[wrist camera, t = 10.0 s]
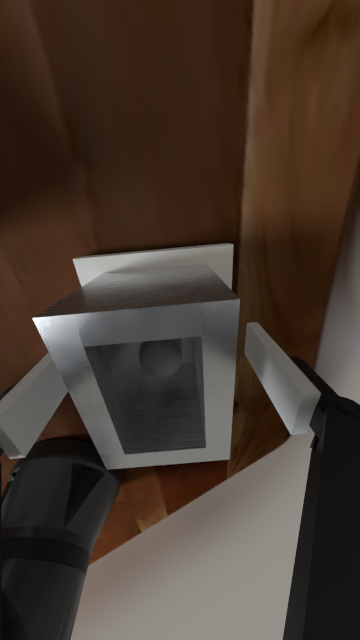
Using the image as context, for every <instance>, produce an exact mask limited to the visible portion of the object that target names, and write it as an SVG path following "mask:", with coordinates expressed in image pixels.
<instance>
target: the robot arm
mask: <svg viewBox="0 0 360 640" xmlns="http://www.w3.org/2000/svg"><path fill="white" fill-rule="evenodd" d="M244 354H245V355H246V357H247V359H248V361H249V362H250V364H251V366H252V368H253V369H254V371H255V373H256V375H257V376H258V378H259V380H260V382H261V383H262V385H263V387H264V389H265V390H266V392H267V394H268V396H269V397H270V399H271V401H272V403H273V404H274V406H275V408H276V410H277V411H278V413H279V415H280V417H281V418H282V420H283V422H284V424H285V425H286V427H287V429H288V431H289V432H290V434H291V435H297V434H306V433H307V431H308V429H309V426H310V427H311V428H312V430H313V431H314V433H315V435H314V438H313V441H312V443H311V446H310V447H311V448H312V451H311V458H310V465H309V471H308V478H307V484H306V491H305V498H304V504H303V510H302V517H301V524H300V531H299V537H298V544H297V550H296V557H295V563H294V570H293V576H292V583H291V590H290V596H289V602H288V609H287V615H286V622H285V629H284V636H283V640H360V405H359V404H357V403H356V402H354V401H352V400H350V399H348V398H345V397H341V396H338V395H337V394H336V392H334V390H333V389H331V387H330V386H328V384H327V383H325V382H324V380H323V379H321V377H320V376H319V375H317V373H316V372H315V371H314V370H312V368H311V367H310V366H309V365H308V364H307V363H306V362H305V361H303V360H301V359H299V358H298V357H288V356H287V355H286V354H285V353H284V351H283V350H282V349H281V348H280V347H279V346H278V345H277V344H276V343H275V341H274V340H273V339H272V338H271V337H270V336H269V335H268V334H267V332H266V331H265V330H264V329H263V328H262V327H261V326H260V325H259V324H258V322H252V323H247V327H246V338H245V349H244ZM67 392H68V390H67V388H66V386H65V384H64V382H63V380H62V377H61V375H60V373H59V371H58V369H57V367H56V365H55V363H54V361H53V359H52V357H51V355H50V353H48V354H47V355H46V356H45V357H44V358H43V359H42V360H41V361H40V362H39V363H38V364H37V365H36V366H35V367H34V368H33V369H32V370H31V371H30V372H29V373H28V374H27V375H26V376H25V377H24V378H23V379H22V380H21V381H19V382H17V383H16V384H14V385H13V386H11V387H10V388H8V389H7V390H6V391H5V392H4V393H3V394H2V395H1V397H0V456H1V455H2V453H3V452H4V453H5V454H6V455H7V456H8V457H9V458H10V459H13V458H19V460H18V461H17V463H16V464H15V466H14V467H13V469H12V471H11V473H10V475H9V478H8V482H7V485H6V487H5V490H4V492H3V495H2V497H1V462H0V640H70V638H71V634H72V630H73V626H74V622H75V618H76V614H77V609H78V606H79V601H80V597H81V593H82V588H83V585H84V581H85V576H86V572H87V568H88V564H89V561H90V557H91V553H92V549H93V546H94V544H95V541H96V539H97V537H98V535H99V533H100V531H101V529H102V526H103V524H104V522H105V520H106V518H107V516H108V514H109V511H110V509H111V507H112V505H113V503H114V501H115V499H116V496H117V494H118V492H119V489H120V485H121V480H122V475H123V468H121V469H109V470H107V469H106V467H105V465H104V463H103V461H102V459H101V457H100V455H99V453H98V451H97V449H96V447H95V445H94V444H92V443H88V442H84V441H79V440H70V439H55V440H47V441H43V442H39V443H36V444H34V443H35V442H36V440H37V438H38V437H39V435H40V434H41V432H42V431H43V429H44V428H45V426H46V425H47V423H48V421H49V420H50V418H51V417H52V415H53V414H54V412H55V411H56V409H57V407H58V406H59V404H60V403H61V401H62V400H63V398H64V397H65V395H66V394H67Z"/></svg>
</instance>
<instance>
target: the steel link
mask: <svg viewBox="0 0 360 640" xmlns="http://www.w3.org/2000/svg"><path fill="white" fill-rule="evenodd" d="M239 309H240V299H239V297H238V296H237V295H236V294H235V293H234V292H233V291H232V290H231V289H230V288H229V287H228V286H227V285H226V284H225V283H224V282H223V281H222V279H221V278H220V277H219V276H218V275H217V274H216V273H215V272H214V271H213V270H212V269H211V268H210V267H209V266H208V265H207V264H195V265H185V266H174V267H163V268H152V269H141V270H131V271H120V272H109V273H102V274H101V275H99V276H98V277H96V278H95V279H93V280H91V281H90V282H88V283H87V284H85V285H84V286H82V287H80V288H79V289H77V290H76V291H74V292H72V293H71V294H69V295H68V296H66V297H65V298H63V299H61V300H60V301H58V302H57V303H55V304H54V305H52V306H50V307H49V308H47V309H46V310H44V311H43V312H41V313H39V314H38V315H36V316H35V317H33V318H32V319H33V321H34V323H35V325H36V327H37V329H38V331H39V333H40V335H41V337H42V339H43V341H44V343H45V345H46V347H47V349H48V351H49V353H50V355H51V357H52V359H53V361H54V363H55V365H56V367H57V369H58V371H59V373H60V375H61V377H62V380H63V382H64V384H65V386H66V388H67V390H68V392H69V394H70V396H71V398H72V400H73V402H74V404H75V406H76V408H77V410H78V412H79V414H80V416H81V418H82V420H83V422H84V424H85V426H86V428H87V430H88V432H89V434H90V436H91V438H92V441H93V443H94V445H95V447H96V449H97V451H98V453H99V455H100V457H101V459H102V461H103V463H104V465H105V467H106V469H107V470H109V469H121V468H133V467H145V466H157V465H169V464H181V463H193V462H205V461H217V460H229V459H230V447H231V432H232V417H233V401H234V386H235V371H236V355H237V340H238V324H239ZM188 337H192V350H193V363H183V364H180V366H179V368H178V369H177V371H176V372H175V373H173V374H172V375H170V376H168V377H165V378H156V377H152V376H150V375H149V374H147V373H146V372H145V371H144V370H143V368H142V367H141V364H140V361H139V353H140V348H139V344H138V342H143V341H155V340H166V339H177V338H188Z"/></svg>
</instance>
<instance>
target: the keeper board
mask: <svg viewBox="0 0 360 640" xmlns="http://www.w3.org/2000/svg"><path fill="white" fill-rule="evenodd" d="M233 246H234V244H230V243H223V244H212V245H201V246H190V247H179V248H169V249H158V250H147V251H136V252H125V253H114V254H103V255H92V256H82V257H78V258H75V259H73V262H74V265H75V268H76V271H77V274H78V277H79V280H80V283H81V286H84V285H85V284H87V283H88V282H90V281H91V280H93V279H95V278H96V277H98V276H99V275H101V274H102V273H109V272H120V271H131V270H141V269H152V268H163V267H174V266H185V265H195V264H207V265H208V266H209V267H210V268H211V269H212V270H213V271H214V272H215V273H216V274H217V275H218V276H219V277H220V278H221V279H222V281H223V282H224V283H225V284H226V285H227V286H228V287H229V288H230V289H231V290H232V269H233ZM138 344H139V348H140V353H139V361H140V364H141V367H142V368H143V370H144V371H145V372H146V373H147V374H149V375H150V376H152V377H156V378H165V377H168V376H170V375H172V374H173V373H175V372H176V371H177V369H178V368H179V366H180V364H183V363H193V350H192V337H188V338H177V339H166V340H155V341H143V342H138Z"/></svg>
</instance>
